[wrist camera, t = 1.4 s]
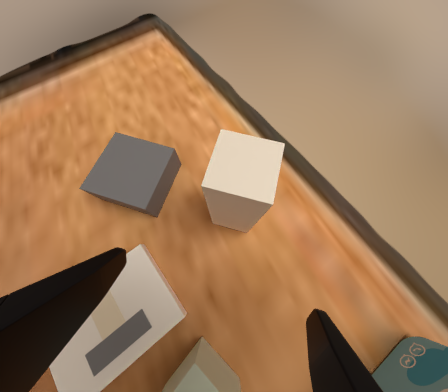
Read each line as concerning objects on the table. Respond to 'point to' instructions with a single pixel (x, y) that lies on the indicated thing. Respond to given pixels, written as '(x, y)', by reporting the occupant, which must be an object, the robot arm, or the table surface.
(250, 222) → the cream block
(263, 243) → the table surface
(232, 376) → the sage cube
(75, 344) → the tile
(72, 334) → the robot arm
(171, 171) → the charcoal slab
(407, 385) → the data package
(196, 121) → the table surface
